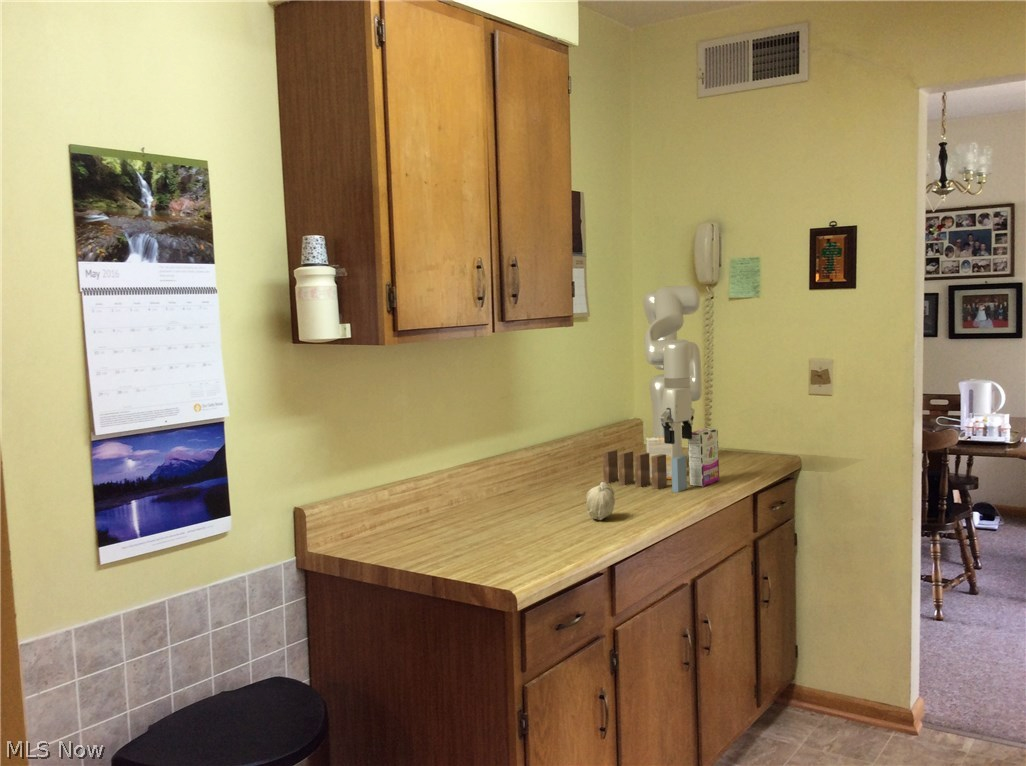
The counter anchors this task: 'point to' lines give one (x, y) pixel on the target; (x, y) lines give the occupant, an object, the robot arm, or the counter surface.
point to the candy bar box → (703, 457)
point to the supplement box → (660, 452)
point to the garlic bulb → (600, 501)
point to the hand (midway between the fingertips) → (678, 441)
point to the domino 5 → (679, 473)
